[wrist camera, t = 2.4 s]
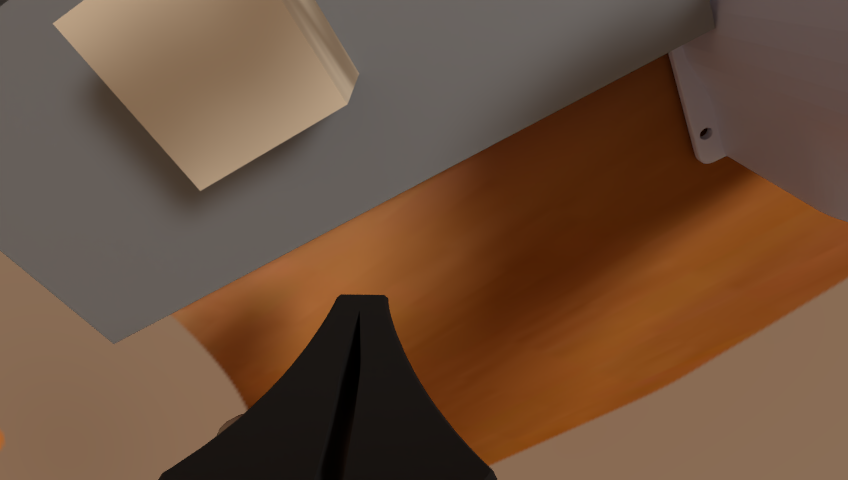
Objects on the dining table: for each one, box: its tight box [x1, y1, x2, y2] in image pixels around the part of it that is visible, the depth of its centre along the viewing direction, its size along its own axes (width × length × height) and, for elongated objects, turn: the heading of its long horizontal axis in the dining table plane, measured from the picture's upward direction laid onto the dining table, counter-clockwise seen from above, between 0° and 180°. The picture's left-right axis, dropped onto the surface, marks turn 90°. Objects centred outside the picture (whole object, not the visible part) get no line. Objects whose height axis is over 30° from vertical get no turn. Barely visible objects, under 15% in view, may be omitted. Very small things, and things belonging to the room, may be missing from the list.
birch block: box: [53, 0, 359, 191], centre depth 14 cm, size 5×5×4 cm
